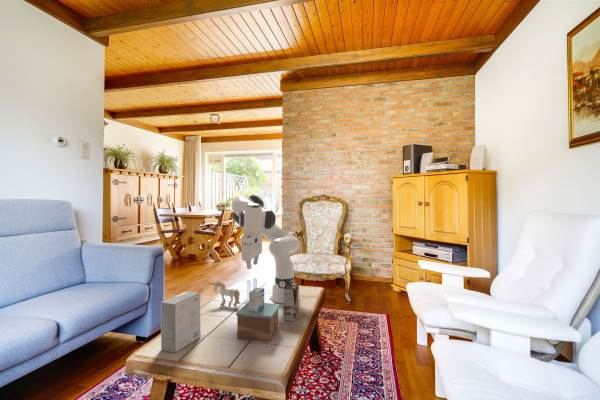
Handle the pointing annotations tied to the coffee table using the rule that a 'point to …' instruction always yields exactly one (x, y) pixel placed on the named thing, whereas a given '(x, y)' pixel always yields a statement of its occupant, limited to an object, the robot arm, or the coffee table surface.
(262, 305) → the medicine box
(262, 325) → the walnut box
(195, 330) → the hard drive box
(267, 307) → the lid
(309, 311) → the coffee table surface
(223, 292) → the unicorn figurine
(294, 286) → the coffee box
